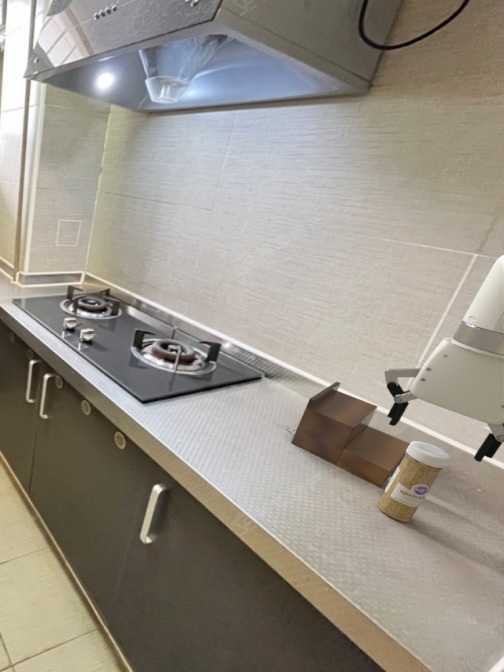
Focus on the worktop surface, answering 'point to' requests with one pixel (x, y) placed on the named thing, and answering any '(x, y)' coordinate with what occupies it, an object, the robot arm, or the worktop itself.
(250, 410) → the worktop surface
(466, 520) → the worktop surface
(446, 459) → the sprinkles bottle
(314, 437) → the spice rack
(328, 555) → the worktop surface
